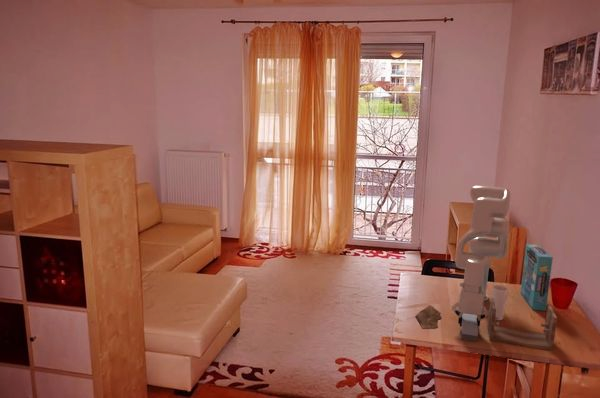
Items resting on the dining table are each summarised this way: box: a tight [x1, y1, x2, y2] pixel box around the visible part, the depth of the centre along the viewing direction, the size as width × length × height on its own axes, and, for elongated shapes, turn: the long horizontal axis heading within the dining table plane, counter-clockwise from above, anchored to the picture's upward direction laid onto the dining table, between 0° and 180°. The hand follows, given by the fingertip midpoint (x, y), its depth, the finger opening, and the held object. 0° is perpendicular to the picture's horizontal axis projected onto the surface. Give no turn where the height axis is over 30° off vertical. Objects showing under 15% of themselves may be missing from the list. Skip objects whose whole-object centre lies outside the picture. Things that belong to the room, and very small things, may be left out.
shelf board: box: [461, 313, 479, 337], centre depth 198 cm, size 20×6×2 cm, turn 162°
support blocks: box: [460, 330, 478, 342], centre depth 199 cm, size 18×6×3 cm, turn 162°
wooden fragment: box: [415, 304, 442, 330], centre depth 211 cm, size 26×11×1 cm, turn 156°
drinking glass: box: [490, 284, 509, 321], centre depth 210 cm, size 7×7×15 cm
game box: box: [520, 243, 553, 312], centre depth 227 cm, size 20×6×27 cm, turn 170°
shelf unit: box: [486, 297, 558, 351], centre depth 192 cm, size 12×24×14 cm, turn 72°
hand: (468, 326), depth 199 cm, fingers closed on shelf board, 6 cm apart
